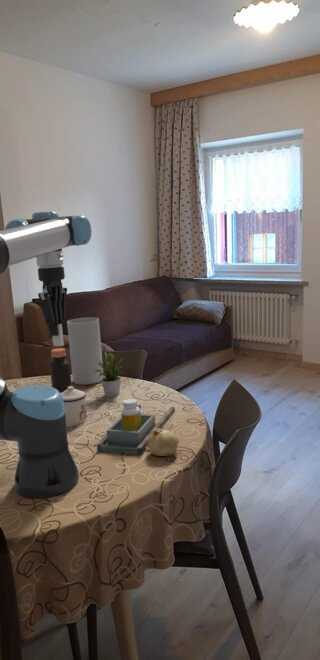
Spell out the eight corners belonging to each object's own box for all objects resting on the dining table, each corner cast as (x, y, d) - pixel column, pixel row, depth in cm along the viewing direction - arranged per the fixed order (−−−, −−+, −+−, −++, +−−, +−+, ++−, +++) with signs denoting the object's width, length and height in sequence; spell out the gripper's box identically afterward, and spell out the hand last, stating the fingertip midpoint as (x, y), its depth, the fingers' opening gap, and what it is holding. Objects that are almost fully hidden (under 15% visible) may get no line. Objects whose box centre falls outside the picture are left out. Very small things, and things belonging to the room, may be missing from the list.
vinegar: (73, 406, 176) (67, 351, 172) (53, 408, 175) (47, 352, 171) (73, 400, 183) (68, 346, 179) (54, 402, 182) (48, 348, 178)
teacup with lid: (86, 426, 158) (82, 390, 155) (57, 428, 158) (53, 392, 155) (90, 412, 169) (87, 379, 167) (63, 414, 169) (60, 381, 167)
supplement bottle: (140, 436, 144) (138, 403, 142) (121, 437, 144) (119, 404, 142) (142, 429, 149) (140, 397, 147) (124, 429, 149) (122, 398, 147)
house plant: (86, 392, 191) (82, 350, 188) (121, 386, 196) (118, 345, 193) (97, 403, 178) (93, 358, 175) (133, 396, 183) (130, 352, 180)
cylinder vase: (94, 374, 215) (89, 316, 210) (109, 380, 205) (104, 319, 200) (67, 381, 208) (61, 321, 203) (81, 387, 198) (75, 324, 193)
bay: (141, 454, 135) (141, 447, 135) (97, 450, 139) (96, 444, 139) (175, 412, 165) (174, 406, 164) (137, 410, 169) (137, 404, 168)
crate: (139, 446, 139) (138, 432, 138) (107, 443, 142) (106, 430, 141) (155, 427, 151) (154, 415, 151) (125, 425, 154) (124, 413, 154)
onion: (164, 444, 141) (163, 420, 140) (184, 452, 135) (183, 427, 134) (142, 454, 136) (141, 429, 134) (162, 463, 130) (161, 437, 129)
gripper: (50, 268, 140) (58, 351, 144) (72, 264, 152) (79, 340, 156) (26, 269, 142) (36, 350, 147) (50, 265, 154) (58, 340, 159)
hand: (58, 345), depth 152 cm, fingers closed
